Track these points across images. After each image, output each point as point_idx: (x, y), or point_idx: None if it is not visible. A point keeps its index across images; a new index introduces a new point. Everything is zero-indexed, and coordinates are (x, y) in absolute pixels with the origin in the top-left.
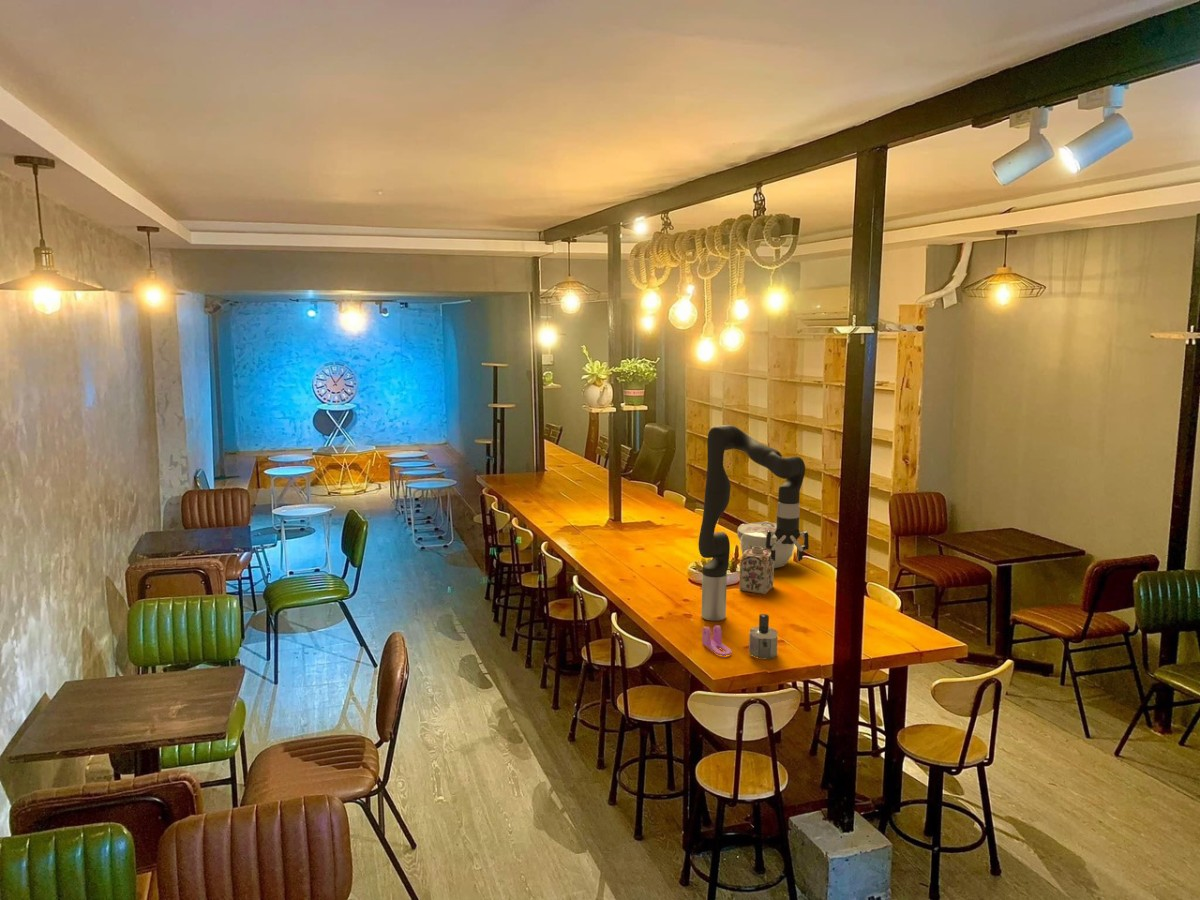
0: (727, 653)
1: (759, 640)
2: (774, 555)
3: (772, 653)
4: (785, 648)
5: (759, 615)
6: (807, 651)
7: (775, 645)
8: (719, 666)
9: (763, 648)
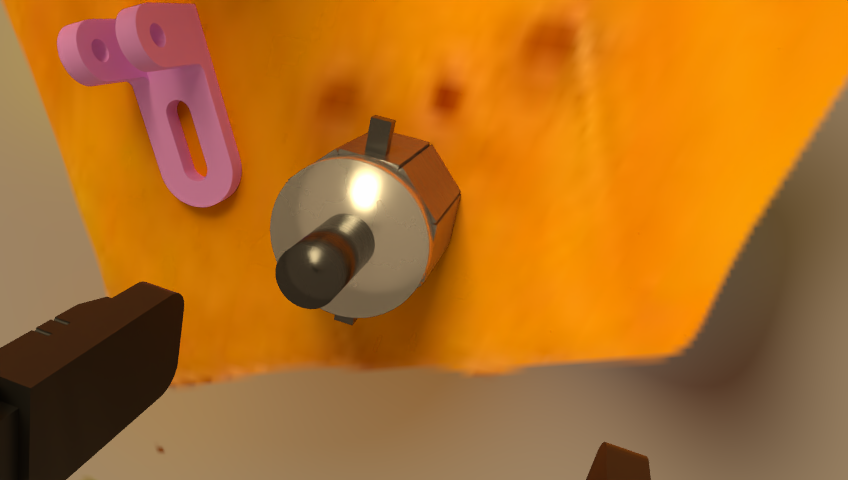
0: (209, 204)
1: None
2: (88, 441)
3: None
4: (536, 153)
5: (277, 266)
6: (643, 215)
7: None
8: (170, 286)
9: None
